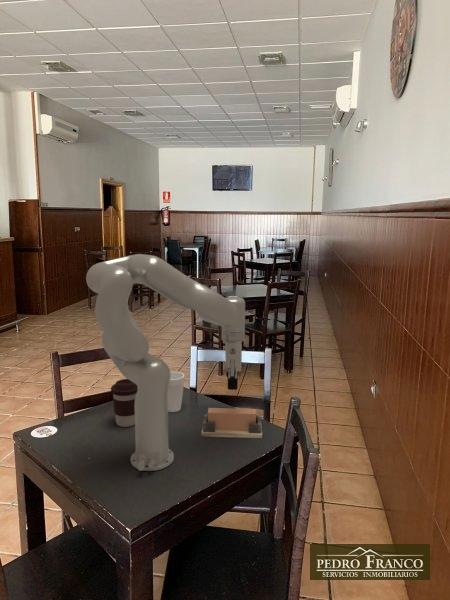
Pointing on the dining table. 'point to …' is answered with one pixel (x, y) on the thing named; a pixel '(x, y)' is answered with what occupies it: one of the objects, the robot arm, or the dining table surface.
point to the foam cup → (175, 391)
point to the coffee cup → (124, 402)
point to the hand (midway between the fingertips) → (232, 388)
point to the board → (253, 432)
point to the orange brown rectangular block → (232, 418)
